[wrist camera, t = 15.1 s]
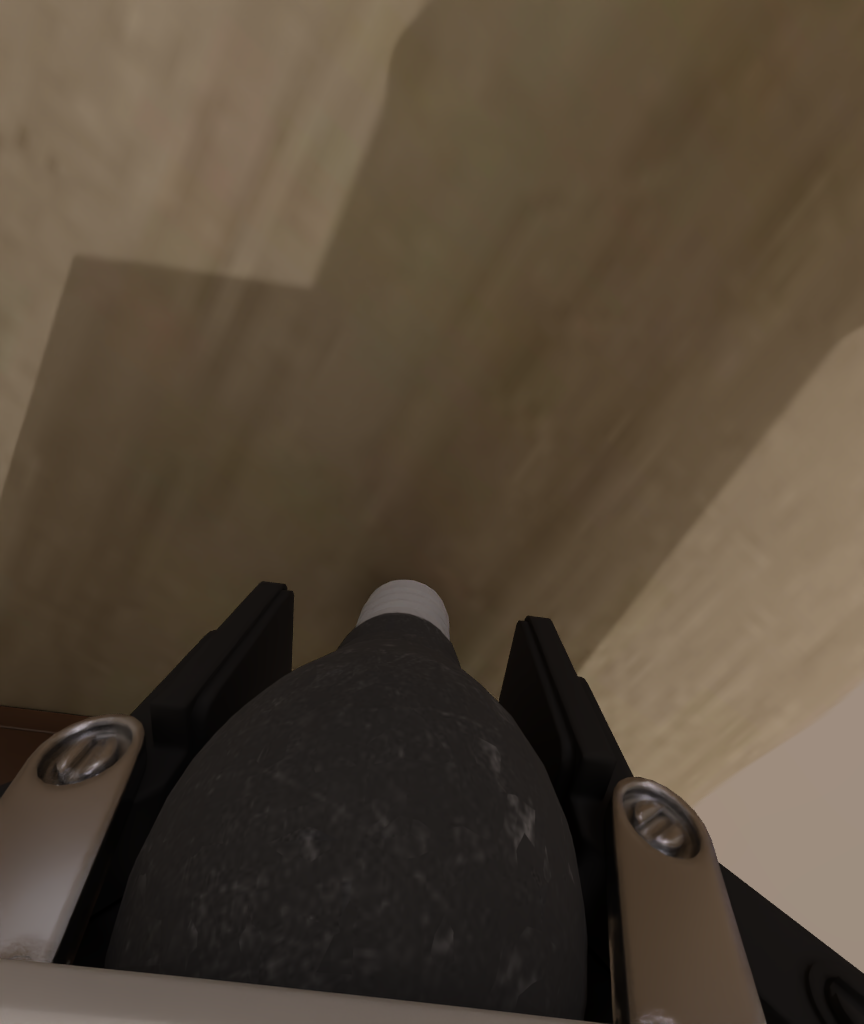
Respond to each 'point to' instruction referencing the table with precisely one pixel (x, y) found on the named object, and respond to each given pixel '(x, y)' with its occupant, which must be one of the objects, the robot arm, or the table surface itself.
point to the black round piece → (367, 838)
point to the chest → (26, 735)
